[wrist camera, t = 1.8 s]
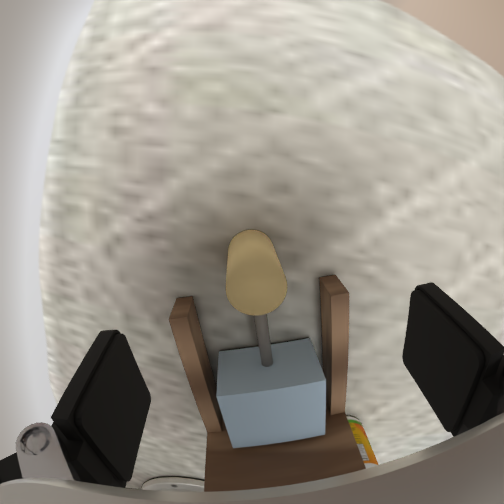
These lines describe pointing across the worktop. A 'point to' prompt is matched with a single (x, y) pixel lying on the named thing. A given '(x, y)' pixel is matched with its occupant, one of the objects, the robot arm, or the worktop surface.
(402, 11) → the worktop surface
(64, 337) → the worktop surface
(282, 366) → the push plunger
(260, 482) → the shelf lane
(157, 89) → the worktop surface
